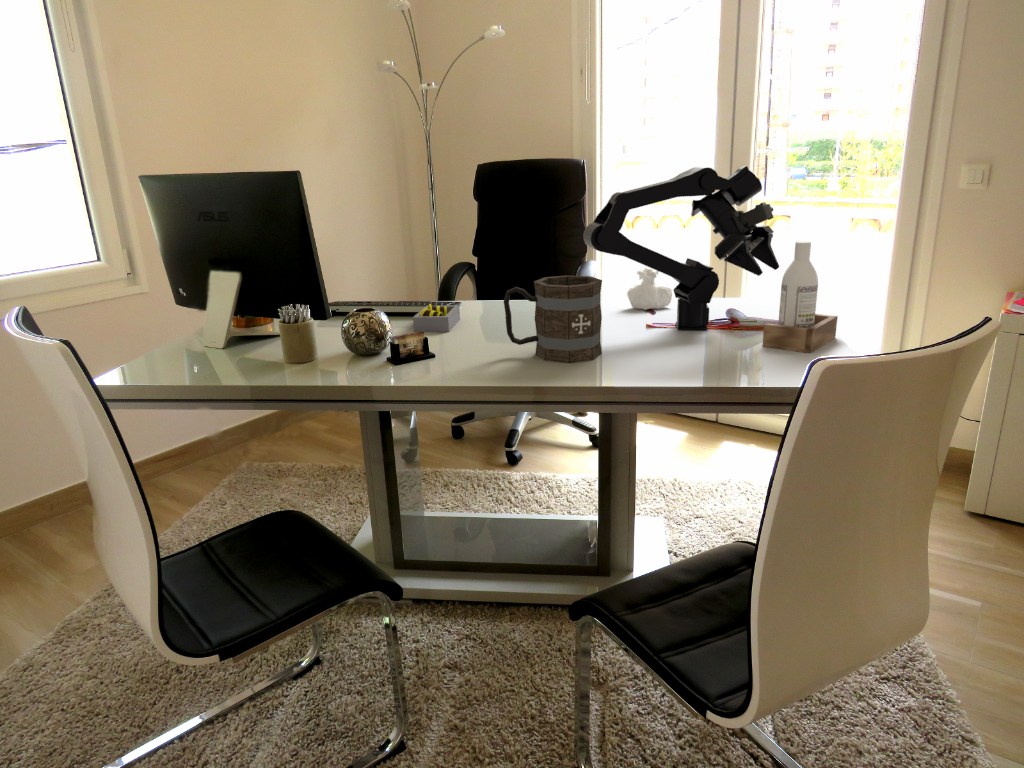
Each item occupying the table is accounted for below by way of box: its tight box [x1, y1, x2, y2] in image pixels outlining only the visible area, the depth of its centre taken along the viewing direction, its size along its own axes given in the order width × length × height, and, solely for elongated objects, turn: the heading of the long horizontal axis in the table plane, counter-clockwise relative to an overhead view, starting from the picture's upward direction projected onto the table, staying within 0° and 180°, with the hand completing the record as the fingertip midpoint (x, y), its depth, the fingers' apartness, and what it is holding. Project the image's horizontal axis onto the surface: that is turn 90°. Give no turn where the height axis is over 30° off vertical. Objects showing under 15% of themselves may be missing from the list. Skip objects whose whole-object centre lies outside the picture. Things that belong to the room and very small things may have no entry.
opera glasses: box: [420, 303, 447, 316], centre depth 176 cm, size 10×5×5 cm, turn 173°
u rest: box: [761, 313, 838, 354], centre depth 151 cm, size 10×15×5 cm, turn 140°
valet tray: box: [412, 305, 461, 333], centre depth 176 cm, size 8×13×4 cm, turn 173°
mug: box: [503, 274, 603, 364], centre depth 146 cm, size 20×14×15 cm
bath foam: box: [777, 240, 819, 328], centre depth 149 cm, size 7×7×20 cm
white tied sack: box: [626, 267, 673, 310], centre depth 189 cm, size 12×8×11 cm
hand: (769, 271), depth 156 cm, fingers open, 9 cm apart
